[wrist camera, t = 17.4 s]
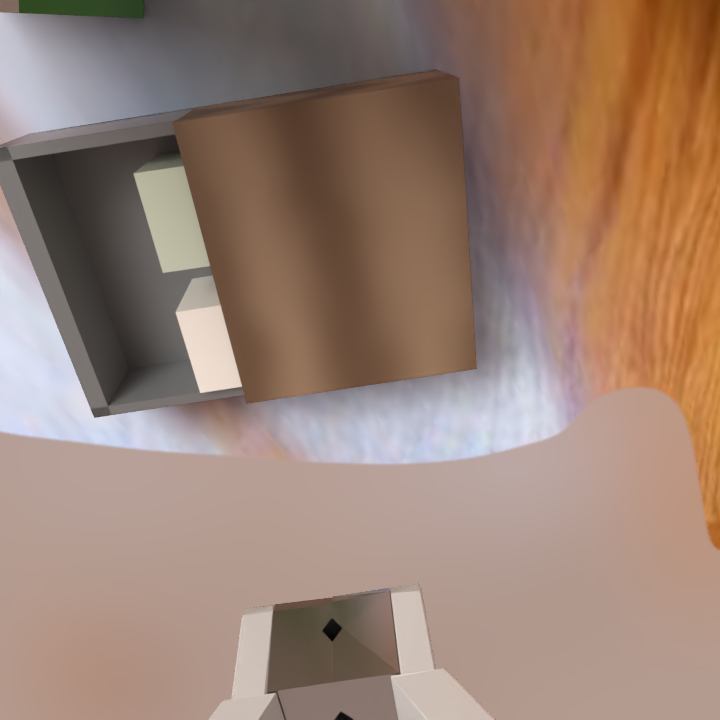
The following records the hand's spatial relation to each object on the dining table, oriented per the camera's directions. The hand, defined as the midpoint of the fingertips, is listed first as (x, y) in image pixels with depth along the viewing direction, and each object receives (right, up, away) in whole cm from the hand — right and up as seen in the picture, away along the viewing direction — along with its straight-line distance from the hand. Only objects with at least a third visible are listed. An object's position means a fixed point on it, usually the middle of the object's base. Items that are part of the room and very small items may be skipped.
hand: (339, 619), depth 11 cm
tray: (-12, +11, +27) cm, 31 cm away
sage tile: (-8, +13, +22) cm, 27 cm away
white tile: (-7, +6, +26) cm, 27 cm away
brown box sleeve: (-1, +12, +26) cm, 29 cm away
